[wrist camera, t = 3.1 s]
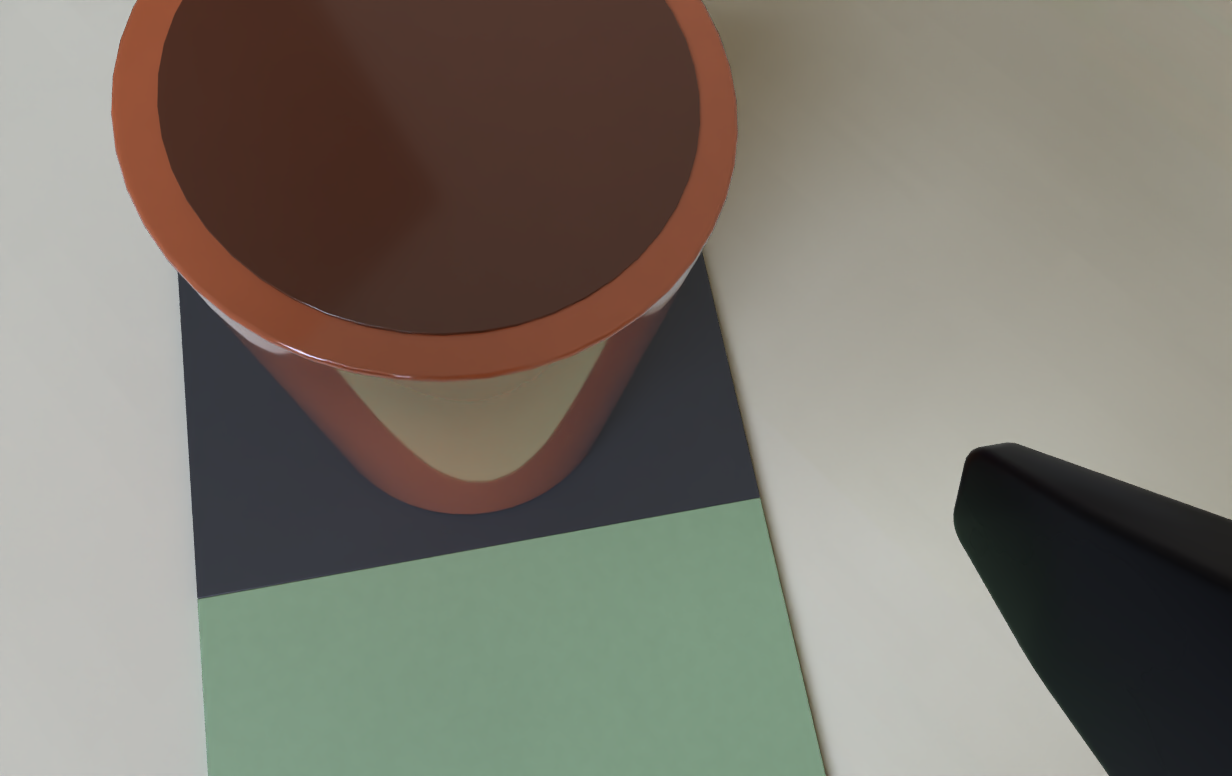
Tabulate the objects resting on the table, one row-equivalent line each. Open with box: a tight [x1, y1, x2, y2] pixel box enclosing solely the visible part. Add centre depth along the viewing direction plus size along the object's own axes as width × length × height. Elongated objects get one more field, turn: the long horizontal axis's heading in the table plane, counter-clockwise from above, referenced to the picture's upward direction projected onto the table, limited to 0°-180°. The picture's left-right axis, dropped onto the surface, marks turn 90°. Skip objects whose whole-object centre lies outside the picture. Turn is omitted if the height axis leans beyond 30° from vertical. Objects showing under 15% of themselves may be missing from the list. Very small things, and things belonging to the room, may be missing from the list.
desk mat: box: [178, 252, 826, 776], centre depth 19 cm, size 21×13×1 cm, turn 11°
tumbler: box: [111, 0, 738, 514], centre depth 15 cm, size 7×7×11 cm
